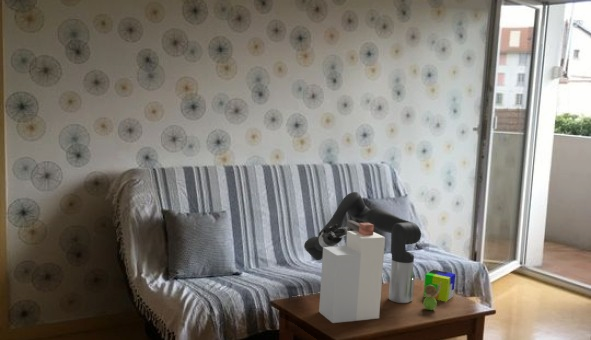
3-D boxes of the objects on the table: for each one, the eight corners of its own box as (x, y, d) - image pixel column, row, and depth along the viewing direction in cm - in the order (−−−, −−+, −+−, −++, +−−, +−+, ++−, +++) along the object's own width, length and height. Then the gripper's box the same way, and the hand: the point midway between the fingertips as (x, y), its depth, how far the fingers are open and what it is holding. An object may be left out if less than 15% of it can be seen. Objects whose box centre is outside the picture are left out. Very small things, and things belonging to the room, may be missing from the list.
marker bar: (353, 226, 252) (353, 216, 252) (373, 235, 238) (373, 224, 237) (344, 226, 251) (345, 216, 250) (363, 235, 236) (364, 225, 236)
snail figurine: (438, 313, 249) (441, 284, 247) (422, 311, 250) (425, 282, 249) (438, 308, 254) (441, 280, 253) (422, 306, 255) (425, 278, 254)
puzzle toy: (453, 296, 272) (455, 274, 271) (445, 301, 264) (447, 279, 262) (431, 291, 277) (433, 269, 276) (423, 296, 269) (425, 274, 268)
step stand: (363, 307, 250) (369, 230, 246) (379, 318, 239) (385, 237, 235) (319, 312, 242) (324, 232, 238) (332, 323, 231) (338, 239, 227)
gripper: (346, 245, 267) (363, 234, 253) (316, 247, 262) (332, 235, 248) (343, 229, 270) (360, 217, 256) (313, 230, 264) (329, 217, 251)
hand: (346, 226), depth 252 cm, fingers open, 8 cm apart
